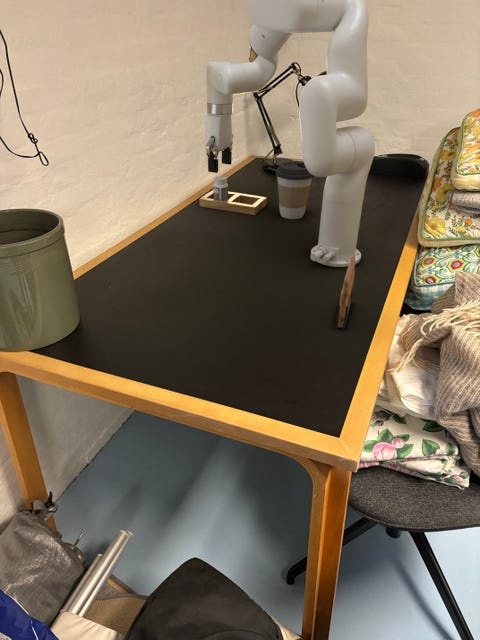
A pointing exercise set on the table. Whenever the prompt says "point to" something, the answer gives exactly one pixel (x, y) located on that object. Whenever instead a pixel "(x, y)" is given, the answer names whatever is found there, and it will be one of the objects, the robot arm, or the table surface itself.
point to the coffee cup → (293, 188)
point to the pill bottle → (220, 188)
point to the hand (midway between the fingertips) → (220, 167)
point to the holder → (235, 203)
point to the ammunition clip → (346, 295)
